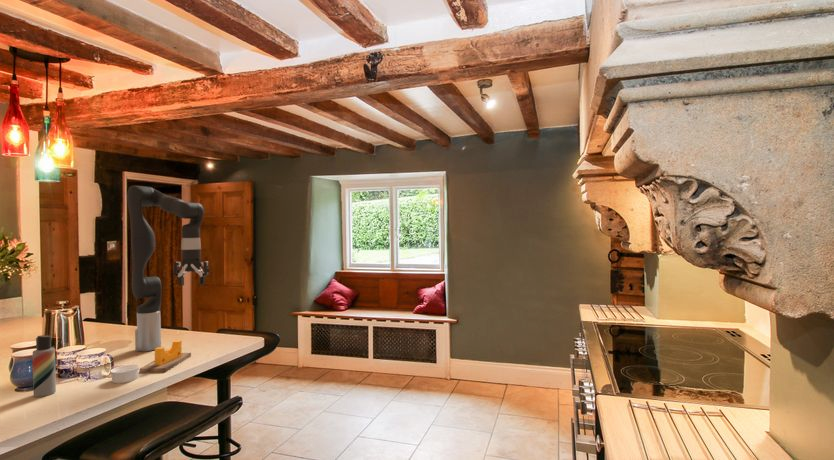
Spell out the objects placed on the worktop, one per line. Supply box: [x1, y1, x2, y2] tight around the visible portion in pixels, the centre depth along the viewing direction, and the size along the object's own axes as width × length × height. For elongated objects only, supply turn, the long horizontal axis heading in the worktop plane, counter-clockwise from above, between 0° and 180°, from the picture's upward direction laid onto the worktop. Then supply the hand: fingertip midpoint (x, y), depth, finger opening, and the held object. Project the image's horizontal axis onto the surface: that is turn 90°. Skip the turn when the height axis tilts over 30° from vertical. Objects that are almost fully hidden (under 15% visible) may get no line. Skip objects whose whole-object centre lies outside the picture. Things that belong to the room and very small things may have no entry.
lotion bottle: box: [32, 334, 57, 398], centre depth 144 cm, size 6×6×20 cm
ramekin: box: [110, 363, 140, 384], centre depth 157 cm, size 9×9×4 cm
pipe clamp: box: [154, 340, 182, 365], centre depth 174 cm, size 12×4×6 cm, turn 173°
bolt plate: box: [139, 352, 192, 374], centre depth 174 cm, size 10×20×2 cm, turn 3°
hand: (191, 285), depth 185 cm, fingers open, 8 cm apart
